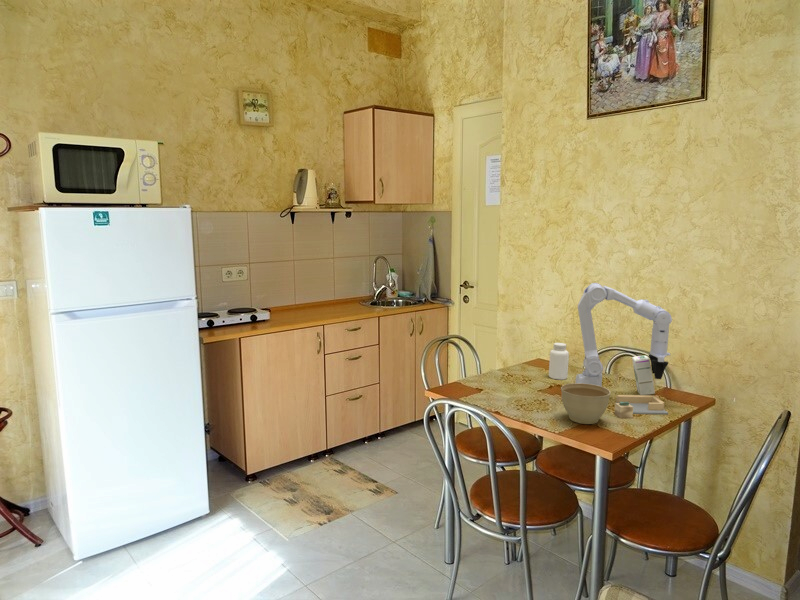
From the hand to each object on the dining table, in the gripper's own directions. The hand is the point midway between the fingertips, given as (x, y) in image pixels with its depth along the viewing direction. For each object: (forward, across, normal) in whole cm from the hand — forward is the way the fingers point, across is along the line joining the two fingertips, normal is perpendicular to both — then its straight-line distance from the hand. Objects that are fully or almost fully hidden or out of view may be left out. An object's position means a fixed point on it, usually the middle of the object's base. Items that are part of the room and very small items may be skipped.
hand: (656, 376), depth 212 cm
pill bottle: (+10, +21, +36) cm, 43 cm away
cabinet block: (+10, -21, +13) cm, 27 cm away
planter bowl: (+10, -30, +26) cm, 41 cm away
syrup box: (+10, +8, +2) cm, 13 cm away
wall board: (+10, -11, +6) cm, 16 cm away
